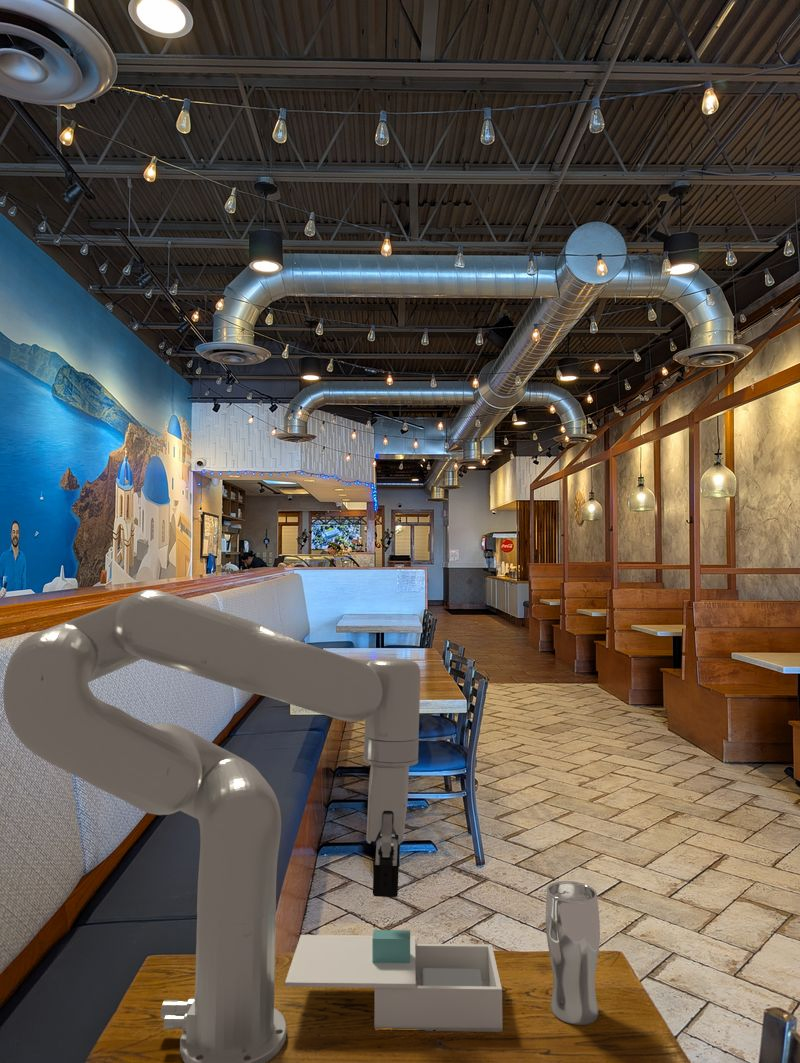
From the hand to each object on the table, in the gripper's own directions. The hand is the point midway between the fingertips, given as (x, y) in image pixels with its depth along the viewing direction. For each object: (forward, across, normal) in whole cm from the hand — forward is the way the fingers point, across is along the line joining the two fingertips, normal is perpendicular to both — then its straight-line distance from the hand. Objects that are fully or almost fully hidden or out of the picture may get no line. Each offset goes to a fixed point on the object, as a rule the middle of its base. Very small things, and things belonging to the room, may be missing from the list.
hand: (386, 880), depth 91 cm
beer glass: (+15, 0, +25) cm, 29 cm away
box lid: (+11, 0, -4) cm, 11 cm away
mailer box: (+16, 0, +7) cm, 17 cm away
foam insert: (+16, 0, +9) cm, 18 cm away
